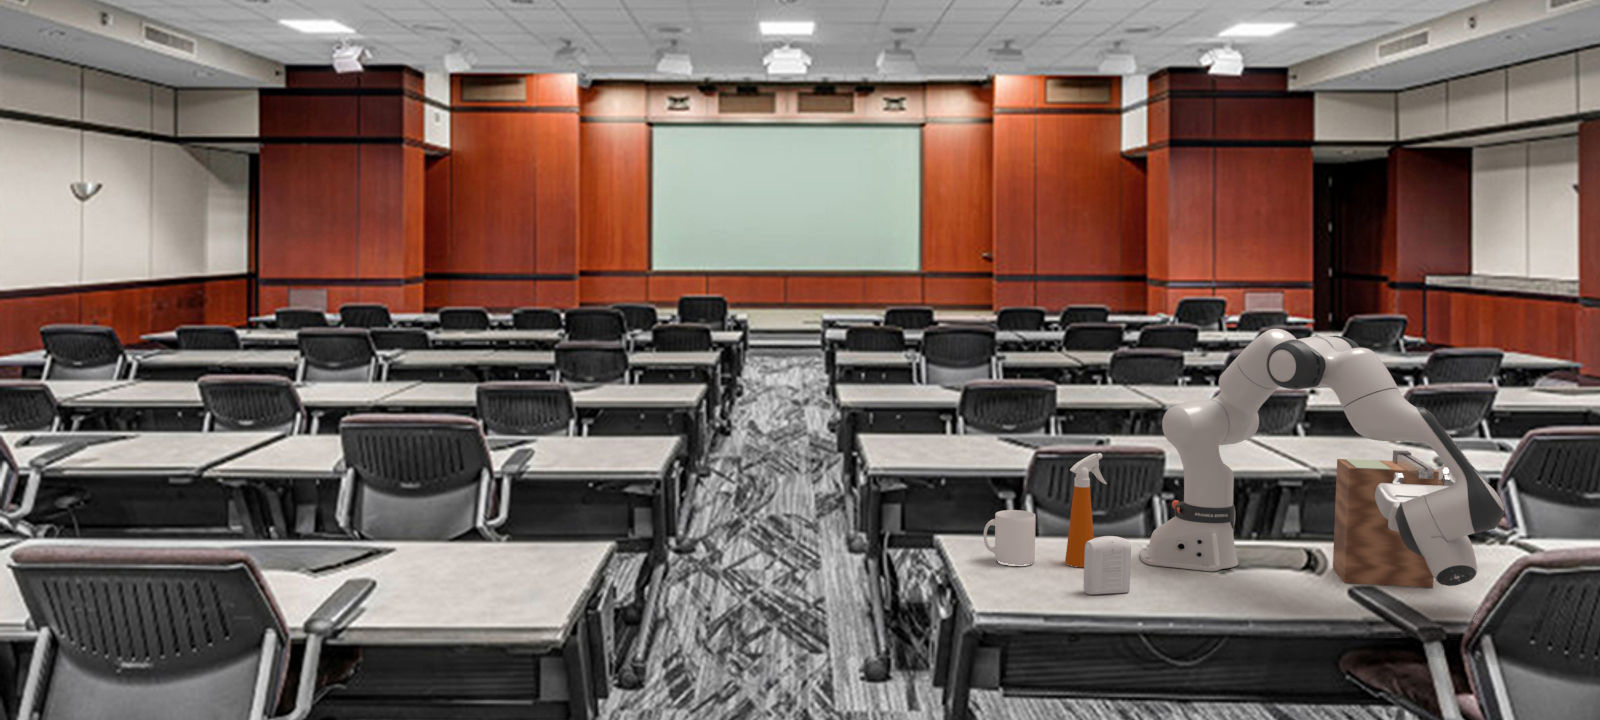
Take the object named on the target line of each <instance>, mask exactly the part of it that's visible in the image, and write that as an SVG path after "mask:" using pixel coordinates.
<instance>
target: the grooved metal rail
mask: <svg viewBox="0 0 1600 720" xmlns="http://www.w3.org/2000/svg"><path fill="white" fill-rule="evenodd" d="M1392 461H1393V462H1394V463H1395V464H1397V465H1399V466H1401V467H1402V468H1404V469H1405V470H1407V471H1408V472H1410V473H1411V474H1413V475H1415V476H1416V477H1418V478H1426V479H1433V475H1434V469H1435V468H1434V467H1432V466H1431V465H1428V464H1427V463H1425V462H1423V461H1422V460H1420V459H1418V458H1417V457H1415V456H1413V455H1412V452H1410V451H1408V450H1392Z"/></svg>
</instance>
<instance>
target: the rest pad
mask: <svg viewBox="0 0 1600 720" xmlns="http://www.w3.org/2000/svg"><path fill="white" fill-rule="evenodd" d="M1344 459H1345V460H1346V461H1347V462H1349V463H1350V464H1351V465H1353V466H1354V467H1355V468H1357V469H1382V470H1391V468H1389V467H1388V466H1386V465H1385V464H1383V463H1382V462H1380V461H1379V459H1378V460H1377V459H1358V458H1357V459H1354V458H1352V459H1351V458H1344Z"/></svg>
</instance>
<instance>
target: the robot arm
mask: <svg viewBox="0 0 1600 720" xmlns="http://www.w3.org/2000/svg"><path fill="white" fill-rule="evenodd" d="M1218 387H1219V391H1220V392H1219V393H1218V395H1216V396H1214V397H1212V398H1210V399H1206V400H1204V399H1203V400H1193V401H1185V402H1182V403H1178V404H1176V405H1174V406H1171V407H1169V408H1168V409H1167V410H1166V411H1165V413H1164V415H1163V418H1162V420H1161V421H1162V423H1161V424H1162V425H1161V427H1162V432H1163V435H1164V437H1165V439H1166V440H1167V441H1168V443H1170V444H1171V445H1172V446H1173V447H1174V448H1175V449H1176V451H1177V452H1178V455H1179V456H1180V459H1181V464H1182V467H1183V480H1184V481H1183V482H1184V483H1183V486H1184V487H1183V488H1184V489H1183V492H1184V493H1183V494H1184V495H1183V500H1182V501H1179V500H1177V499H1174V500H1173V501H1171V506H1172V508H1173V509H1174V516H1173V517H1172V518H1171V519H1169V520H1168V521H1166V522H1164V523H1163V524H1161V525H1159V526H1158V527H1157V528H1155V529H1154V530H1153V532H1152V534H1151V536H1150V540H1149V545H1148V546H1146V547H1144V548H1141V549H1140V551H1139V560H1140V561H1142V562H1143V563H1144V564H1146V565H1149V566H1155V567H1156V566H1157V567H1166V568H1167V567H1168V568H1175V569H1176V568H1177V569H1187V570H1193V571H1195V570H1196V571H1203V572H1205V571H1206V572H1217V571H1220V570H1222V569H1224V570H1225V569H1229V568H1234V567H1237V566H1238V565H1239V560H1238V557H1237V552H1236V545H1235V535H1234V528H1235V524H1236V509H1235V508H1236V506H1235V504H1234V485H1235V484H1234V483H1235V482H1234V481H1235V478H1234V477H1235V475H1234V472H1233V470H1232V469H1231V468H1230V466H1228V465H1227V464H1226V463H1224V461H1223V459H1222V458H1221V457H1222V456H1221V453H1220V446H1226V445H1235V444H1239V443H1242V442H1244V441H1246V440H1249V439H1251V438H1253V437H1254V436H1255V435H1256V433H1257V431H1258V429H1259V426H1260V417H1259V410H1260V408H1261V407H1262V406H1263V404H1264V403H1265V402H1266V401H1267V400H1268V399H1269V398H1270V396H1272V394H1274V393H1275V391H1277V389H1279V387H1281V388H1284V389H1289V390H1298V391H1299V390H1303V389H1304V390H1306V389H1307V390H1310V389H1312V390H1313V389H1321V388H1325V387H1328V388H1330V389H1331V390H1332V391H1333V392H1334V394H1335V395H1336V397H1337V398H1338V400H1339V403H1340V405H1341V406H1340V407H1342V411H1343V412H1344V414H1345V416H1346V418H1347V420H1348V422H1349V423H1350V425H1351V426H1352V428H1353V431H1355V432H1356V433H1357V434H1359V435H1360V436H1362V437H1364V438H1366V439H1369V440H1374V441H1379V442H1419V443H1423V444H1425V445H1426V446H1429V447H1430V448H1432V450H1433V451H1434V452H1435V454H1436V455H1437V457H1438V458H1439V459H1440V460H1441V462H1443V463H1444V465H1445V466H1446V467H1447V469H1448V470H1449V471H1450V473H1451V474H1452V475H1453V477H1454V478H1455V480H1453V479H1452V476H1451V475H1443V478H1442V482H1443V485H1444V486H1435V485H1413V484H1402V483H1403V479H1404V476H1403V473H1394V481H1393V483H1392V484H1391V483H1380V484H1379V485H1378V486H1377V488H1376V491H1375V500H1376V503H1377V506H1378V508H1379V510H1380V512H1381V514H1382V515H1383V516H1384V517H1385V518H1386V519H1388V527H1389V529H1390V530H1393V531H1396V532H1400V535H1401V538H1402V540H1403V542H1404V544H1405V545H1406V546H1407V548H1408V549H1409V550H1411V551H1412V552H1414V553H1416V554H1417V555H1419V556H1422V557H1423V556H1424V558H1425V561H1426V563H1427V566H1428V568H1429V570H1430V572H1431V573H1432V575H1433V577H1434V580H1435V581H1436V582H1437V583H1438V584H1439V585H1442V586H1448V587H1455V586H1458V585H1462V584H1466V583H1468V582H1470V581H1472V580H1473V579H1474V578H1475V577H1476V575H1477V574H1478V566H1477V559H1476V555H1475V550H1474V548H1473V544H1472V542H1471V540H1470V537H1469V535H1472V534H1479V533H1482V532H1487V531H1493V530H1496V528H1497V527H1498V526H1499V524H1500V523H1501V521H1502V519H1503V517H1504V515H1505V509H1504V505H1503V504H1504V503H1503V501H1502V500H1501V498H1500V496H1499V494H1498V493H1497V491H1496V490H1495V489H1494V488H1493V487H1492V486H1491V485H1490V484H1489V483H1488V482H1487V481H1486V480H1485V479H1484V478H1483V477H1482V476H1481V474H1479V472H1478V471H1477V470H1476V468H1475V467H1474V466H1473V465H1472V463H1471V461H1470V460H1469V459H1468V458H1467V456H1466V455H1465V454H1464V452H1463V451H1462V449H1461V448H1460V447H1459V446H1458V445H1457V443H1456V442H1455V441H1454V439H1453V438H1452V437H1451V436H1450V435H1451V434H1449V433H1448V431H1447V430H1446V429H1445V427H1444V426H1443V425H1442V424H1441V423H1440V421H1439V420H1438V419H1437V418H1436V417H1435V416H1434V414H1432V412H1431V411H1429V410H1428V409H1427V408H1425V407H1422V406H1421V407H1419V406H1414V405H1413V404H1411V403H1410V402H1409V401H1408V400H1407V399H1406V398H1405V397H1404V395H1402V392H1401V391H1400V389H1399V387H1398V385H1397V383H1396V381H1395V380H1394V377H1393V376H1392V374H1391V373H1390V371H1389V369H1388V368H1387V366H1386V365H1385V364H1384V362H1383V360H1381V358H1380V357H1379V356H1378V355H1377V353H1376V352H1374V351H1373V350H1371V349H1370V348H1366V347H1360V346H1359V344H1358V343H1357V342H1356V341H1354V340H1352V339H1350V338H1348V337H1345V336H1340V335H1329V336H1328V335H1315V336H1308V337H1302V338H1298V339H1297V338H1296V337H1295V335H1293V334H1292V333H1290V332H1289V331H1287V330H1284V329H1282V328H1281V329H1280V328H1272V329H1267V330H1266V331H1264V332H1262V333H1261V334H1260V335H1258V336H1257V337H1256V338H1255V339H1253V340H1252V341H1251V342H1250V343H1249V344H1248V345H1247V346H1246V347H1245V348H1244V349H1242V351H1241V352H1240V353H1239V354H1238V355H1237V356H1236V358H1235V359H1233V361H1232V362H1231V363H1230V364H1229V366H1227V367H1226V369H1225V370H1224V371H1223V372H1222V373H1221V375H1219V379H1218Z"/></svg>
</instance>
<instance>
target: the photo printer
mask: <svg viewBox="0 0 1600 720" xmlns="http://www.w3.org/2000/svg"><path fill="white" fill-rule="evenodd" d="M1131 562H1132V547H1131V542H1130V540H1128V539H1127V538H1123V537H1120V536H1114V535H1104V536H1099V537H1094V539H1092V540H1089V541H1087V542H1086V544H1085V557H1084V568H1083V592H1084V593H1085V594H1086V595H1107V594H1122V593H1129V592H1130V589H1131Z"/></svg>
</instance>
